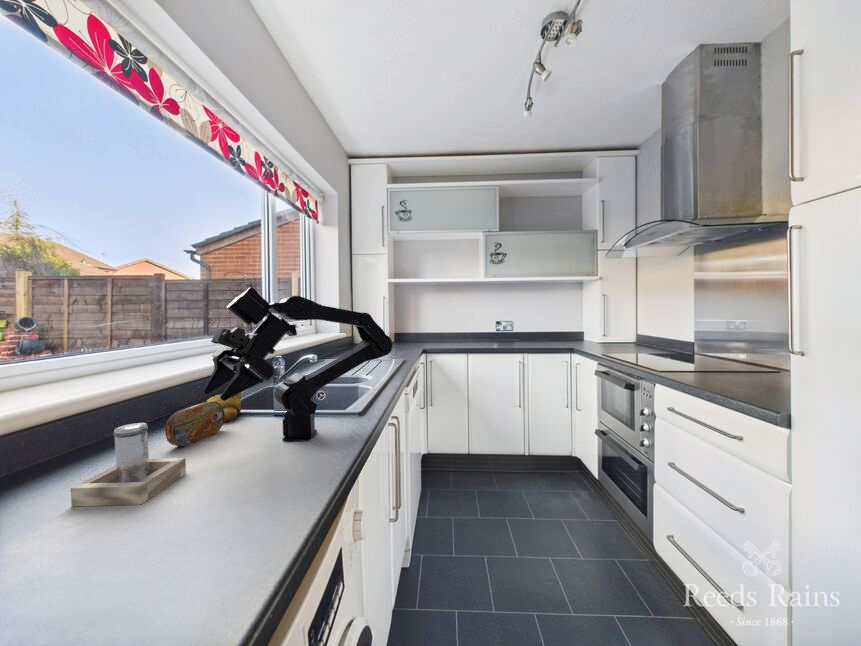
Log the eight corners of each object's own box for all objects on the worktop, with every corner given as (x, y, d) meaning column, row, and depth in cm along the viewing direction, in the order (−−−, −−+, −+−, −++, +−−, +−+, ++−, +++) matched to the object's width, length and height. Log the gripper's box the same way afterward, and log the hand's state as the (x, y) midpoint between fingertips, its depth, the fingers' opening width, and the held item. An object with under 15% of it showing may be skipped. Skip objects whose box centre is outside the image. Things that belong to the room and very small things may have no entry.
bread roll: (242, 421, 101) (240, 393, 100) (201, 427, 96) (200, 398, 96) (242, 410, 112) (241, 385, 112) (205, 415, 107) (204, 388, 107)
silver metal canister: (156, 485, 64) (153, 424, 64) (125, 497, 60) (121, 432, 60) (142, 480, 66) (139, 421, 66) (111, 491, 62) (107, 429, 62)
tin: (174, 452, 79) (173, 414, 79) (163, 451, 80) (161, 414, 80) (226, 429, 94) (225, 397, 94) (216, 428, 95) (214, 397, 94)
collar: (186, 473, 69) (185, 457, 69) (140, 504, 58) (139, 486, 58) (128, 474, 68) (127, 459, 68) (71, 506, 57) (70, 488, 57)
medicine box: (282, 408, 113) (281, 381, 113) (297, 408, 113) (296, 381, 113) (273, 416, 105) (272, 386, 105) (289, 415, 105) (288, 386, 105)
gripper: (220, 314, 83) (165, 368, 75) (256, 314, 71) (195, 378, 63) (256, 345, 89) (208, 397, 81) (295, 349, 77) (244, 412, 69)
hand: (213, 396), depth 74 cm, fingers open, 9 cm apart
